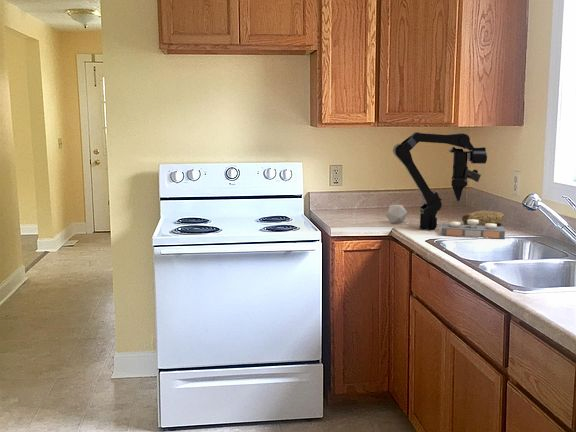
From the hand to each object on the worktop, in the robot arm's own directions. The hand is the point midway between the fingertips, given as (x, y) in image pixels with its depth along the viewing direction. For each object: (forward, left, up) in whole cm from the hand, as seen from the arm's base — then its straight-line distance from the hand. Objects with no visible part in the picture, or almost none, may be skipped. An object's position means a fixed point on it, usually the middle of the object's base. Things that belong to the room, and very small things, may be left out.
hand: (458, 200), depth 276 cm
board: (+6, -12, -12) cm, 18 cm away
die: (-26, +8, -12) cm, 30 cm away
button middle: (+6, -12, -10) cm, 17 cm away
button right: (+13, -12, -11) cm, 21 cm away
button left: (-1, -12, -11) cm, 17 cm away
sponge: (+12, +14, -12) cm, 22 cm away
